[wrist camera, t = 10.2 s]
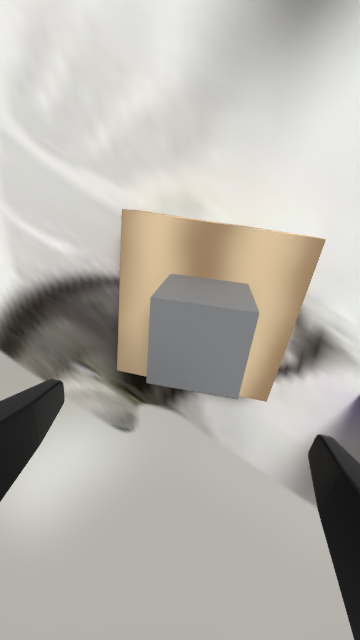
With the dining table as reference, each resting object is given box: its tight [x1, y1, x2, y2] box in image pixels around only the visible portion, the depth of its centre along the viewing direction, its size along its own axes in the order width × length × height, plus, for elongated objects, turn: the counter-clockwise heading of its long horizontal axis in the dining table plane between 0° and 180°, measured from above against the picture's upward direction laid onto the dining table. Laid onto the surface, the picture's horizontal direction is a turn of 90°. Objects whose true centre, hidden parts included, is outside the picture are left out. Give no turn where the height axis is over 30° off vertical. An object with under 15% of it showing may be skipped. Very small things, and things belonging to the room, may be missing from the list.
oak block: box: [117, 209, 325, 402], centre depth 18 cm, size 12×12×3 cm
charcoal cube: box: [146, 274, 259, 400], centre depth 14 cm, size 5×5×5 cm
